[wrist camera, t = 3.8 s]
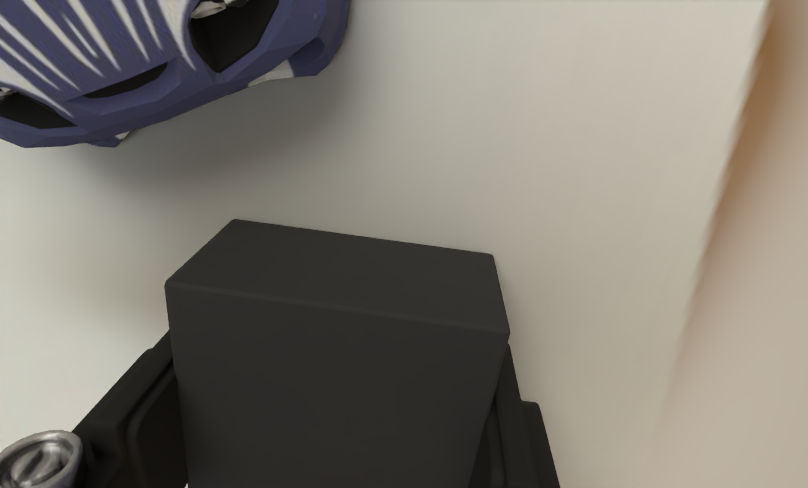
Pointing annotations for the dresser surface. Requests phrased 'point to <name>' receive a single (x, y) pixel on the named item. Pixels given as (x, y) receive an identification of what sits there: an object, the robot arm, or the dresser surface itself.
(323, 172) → the dresser surface
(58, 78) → the toy car
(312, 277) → the charcoal pad
